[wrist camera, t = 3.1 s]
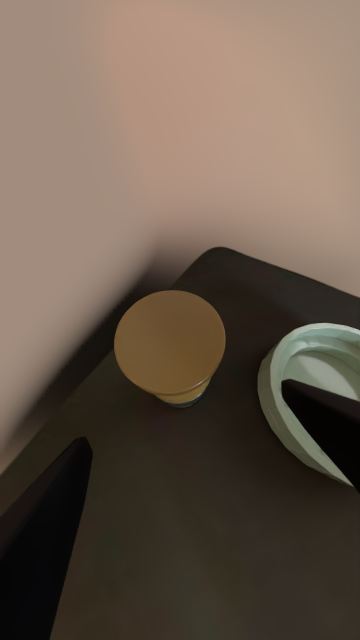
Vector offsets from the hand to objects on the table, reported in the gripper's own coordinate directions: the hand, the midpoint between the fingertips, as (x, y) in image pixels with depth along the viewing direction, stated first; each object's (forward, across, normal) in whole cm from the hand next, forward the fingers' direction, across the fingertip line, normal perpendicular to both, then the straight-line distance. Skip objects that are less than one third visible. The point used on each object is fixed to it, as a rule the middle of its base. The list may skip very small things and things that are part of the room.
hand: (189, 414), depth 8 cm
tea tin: (+11, 0, +6) cm, 13 cm away
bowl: (+7, -14, +10) cm, 18 cm away
